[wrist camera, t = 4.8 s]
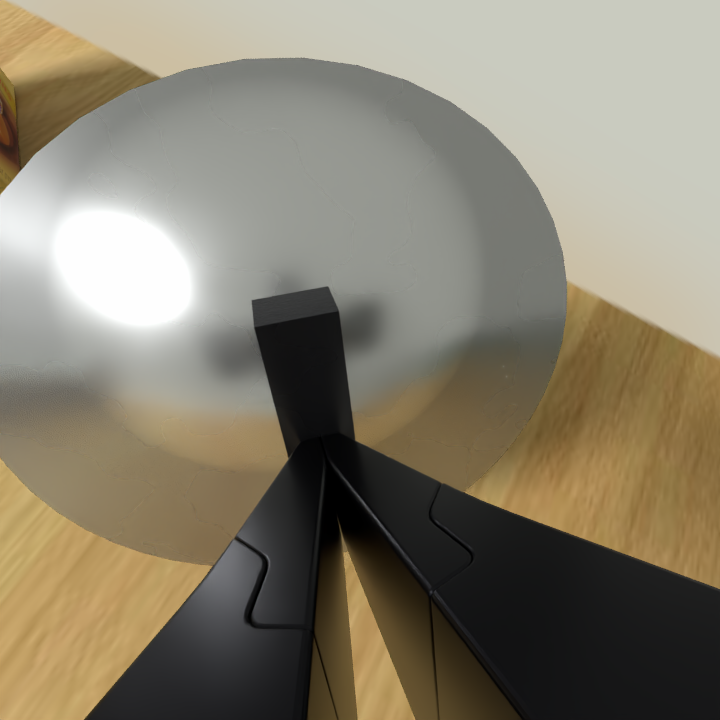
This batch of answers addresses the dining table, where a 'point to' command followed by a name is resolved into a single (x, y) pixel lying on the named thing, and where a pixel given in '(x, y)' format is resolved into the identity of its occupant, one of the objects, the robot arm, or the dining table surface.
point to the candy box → (8, 134)
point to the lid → (265, 295)
